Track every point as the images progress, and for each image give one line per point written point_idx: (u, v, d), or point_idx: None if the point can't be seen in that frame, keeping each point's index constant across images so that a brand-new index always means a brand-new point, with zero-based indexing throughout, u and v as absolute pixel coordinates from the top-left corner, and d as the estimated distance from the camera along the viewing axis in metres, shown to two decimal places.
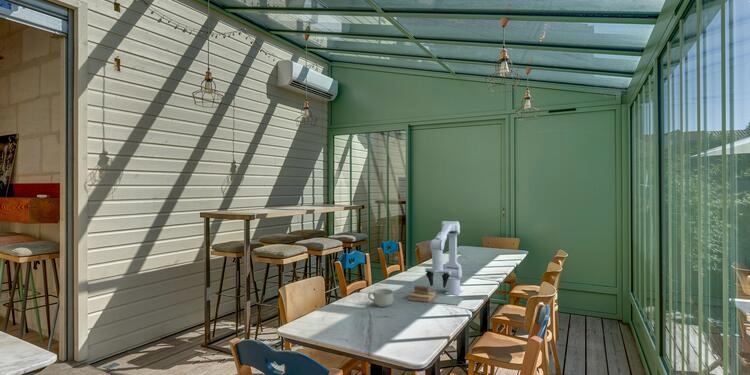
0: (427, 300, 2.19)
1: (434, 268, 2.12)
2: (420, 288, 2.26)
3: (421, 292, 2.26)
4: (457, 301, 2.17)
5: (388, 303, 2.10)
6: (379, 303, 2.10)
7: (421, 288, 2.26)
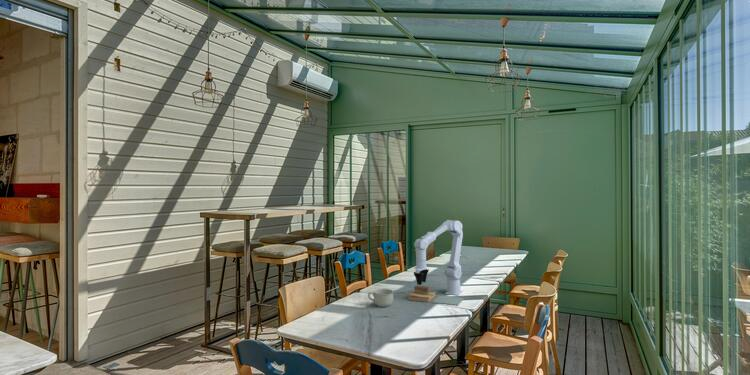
0: (427, 300, 2.19)
1: None
2: (420, 288, 2.26)
3: (421, 292, 2.26)
4: (457, 301, 2.17)
5: (388, 303, 2.10)
6: (379, 303, 2.10)
7: (421, 288, 2.26)
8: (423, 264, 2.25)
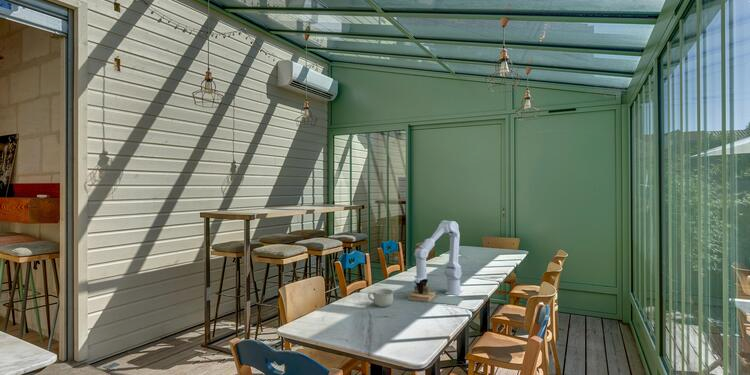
0: (427, 300, 2.19)
1: None
2: None
3: None
4: (457, 301, 2.17)
5: (388, 303, 2.10)
6: (379, 303, 2.10)
7: None
8: (423, 273, 2.25)
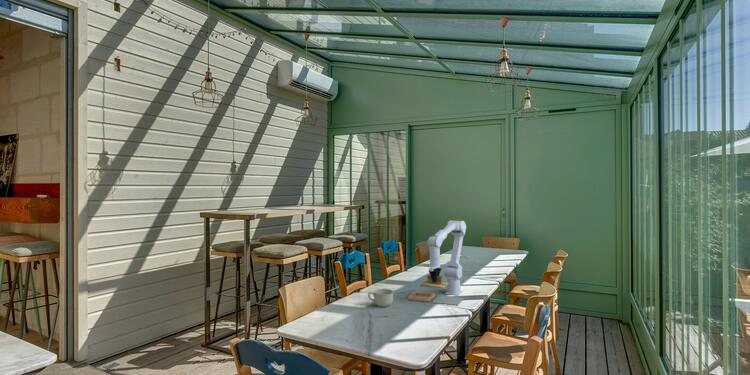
0: (427, 300, 2.19)
1: None
2: None
3: (434, 282, 2.22)
4: (457, 301, 2.17)
5: (388, 303, 2.10)
6: (379, 303, 2.10)
7: None
8: (437, 262, 2.21)
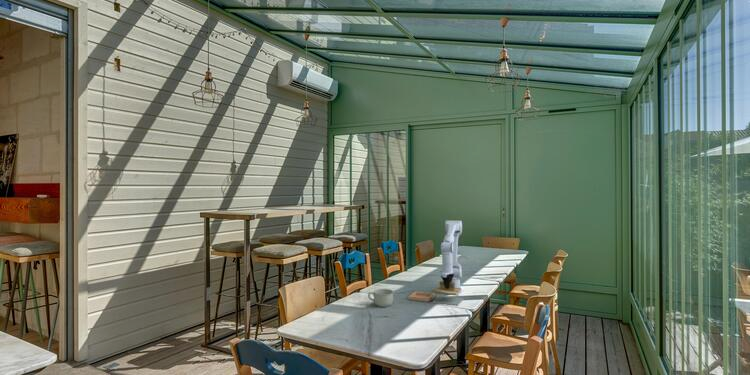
0: (427, 300, 2.19)
1: None
2: None
3: None
4: (457, 301, 2.17)
5: (388, 303, 2.10)
6: (379, 303, 2.10)
7: None
8: (450, 268, 2.18)
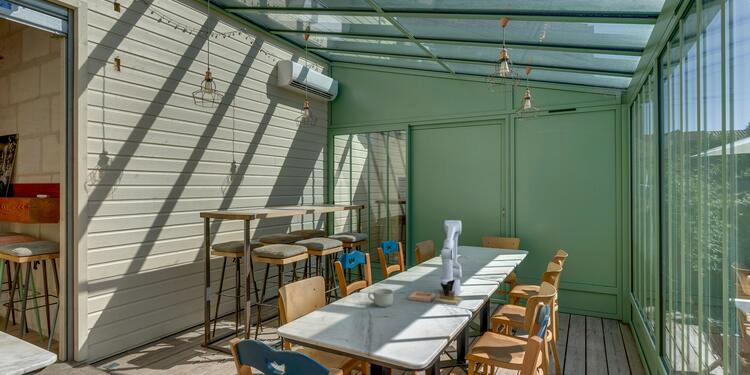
0: (427, 300, 2.19)
1: None
2: None
3: (447, 297, 2.19)
4: None
5: (388, 303, 2.10)
6: (379, 303, 2.10)
7: None
8: (450, 275, 2.18)
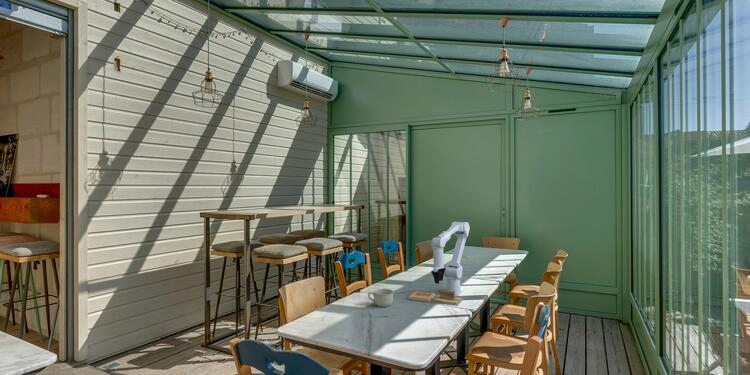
0: (427, 300, 2.19)
1: None
2: (446, 293, 2.19)
3: (447, 297, 2.19)
4: None
5: (388, 303, 2.10)
6: (379, 303, 2.10)
7: (447, 293, 2.19)
8: (441, 263, 2.24)
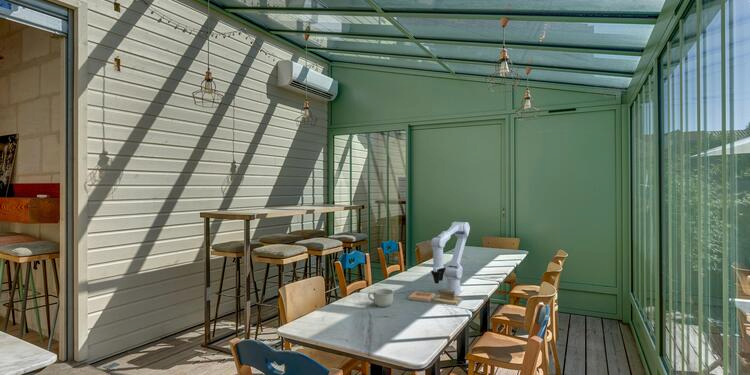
0: (427, 300, 2.19)
1: None
2: (446, 293, 2.19)
3: (447, 297, 2.19)
4: None
5: (388, 303, 2.10)
6: (379, 303, 2.10)
7: (447, 293, 2.19)
8: (440, 263, 2.24)
